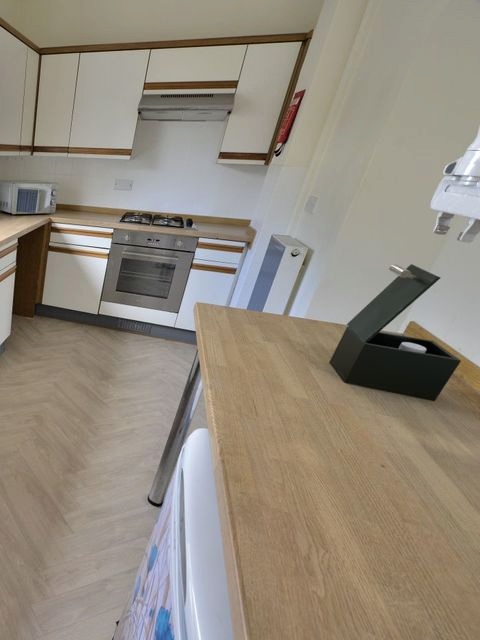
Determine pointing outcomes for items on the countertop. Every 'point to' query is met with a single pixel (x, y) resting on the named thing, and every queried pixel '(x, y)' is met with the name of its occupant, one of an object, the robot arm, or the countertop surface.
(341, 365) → the bin
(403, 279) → the bin lid
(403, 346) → the supplement bottle
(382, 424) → the countertop surface
